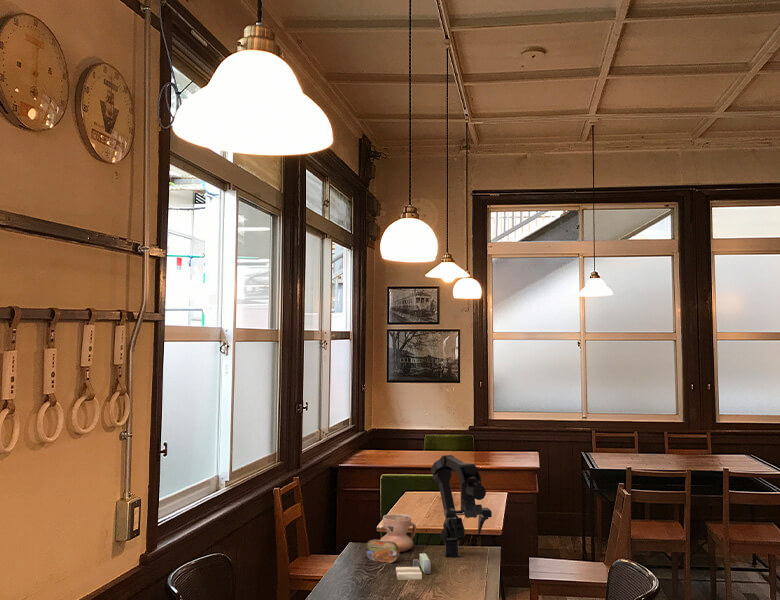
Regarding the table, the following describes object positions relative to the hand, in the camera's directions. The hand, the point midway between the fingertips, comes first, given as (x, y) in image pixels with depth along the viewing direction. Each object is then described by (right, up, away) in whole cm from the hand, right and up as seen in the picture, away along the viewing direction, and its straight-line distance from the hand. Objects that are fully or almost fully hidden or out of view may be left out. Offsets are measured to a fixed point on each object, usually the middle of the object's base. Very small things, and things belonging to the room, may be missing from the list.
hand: (467, 534), depth 284 cm
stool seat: (-24, -11, -15) cm, 31 cm away
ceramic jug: (-28, -14, +21) cm, 37 cm away
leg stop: (-21, -12, -5) cm, 25 cm away
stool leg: (-18, -11, -7) cm, 22 cm away
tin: (-35, -13, +4) cm, 37 cm away
